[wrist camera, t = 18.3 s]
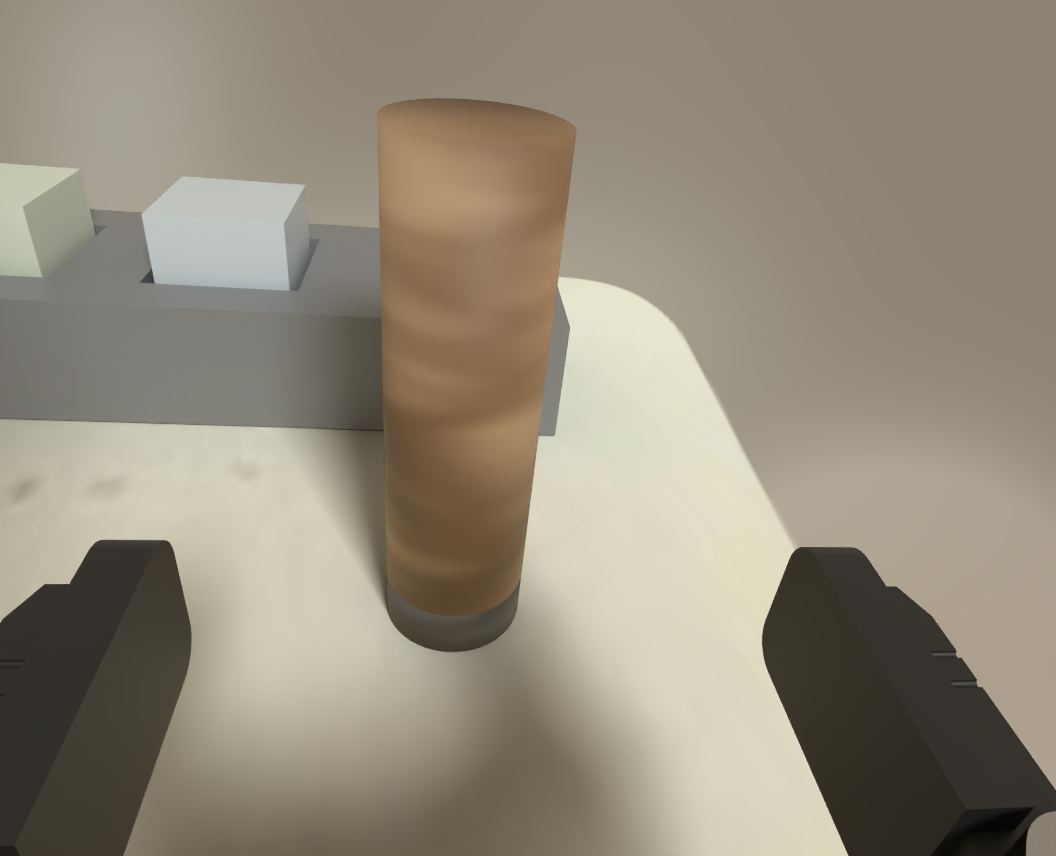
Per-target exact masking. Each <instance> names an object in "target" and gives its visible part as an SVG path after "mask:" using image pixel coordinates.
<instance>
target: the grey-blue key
mask: <svg viewBox="0 0 1056 856" xmlns="http://www.w3.org/2000/svg"><path fill="white" fill-rule="evenodd" d="M141 215H142V220H143V225H144V230H145V236H146V241H147V246H148V251H149V256H150V262H151V267H152V272H153V277H154V282H155V284H172V285H191V286H210V287H228V288H247V289H265V290H284V291H298V290H299V288H300V285H301V283H302V281H303V278H304V276H305V274H306V271H307V269H308V266H309V264H310V262H311V260H310V245H309V230H308V215H307V200H306V186H305V185H295V184H282V183H268V182H254V181H240V180H225V179H212V178H198V177H181V178H180V179H179V180H178V181H177V182H176V183H175V184H174V185H173V186H172V187H171V188H169V190H167V191H166V192H165V193H164V194H163V195H162V196H161V197H160V198H159V199H158V200H156V201H155V202H154V203H153V204H152V205H151V206H150V207H149V208H148V209H147V210H146V211H145V212H143V213H142V214H141Z"/></svg>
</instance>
